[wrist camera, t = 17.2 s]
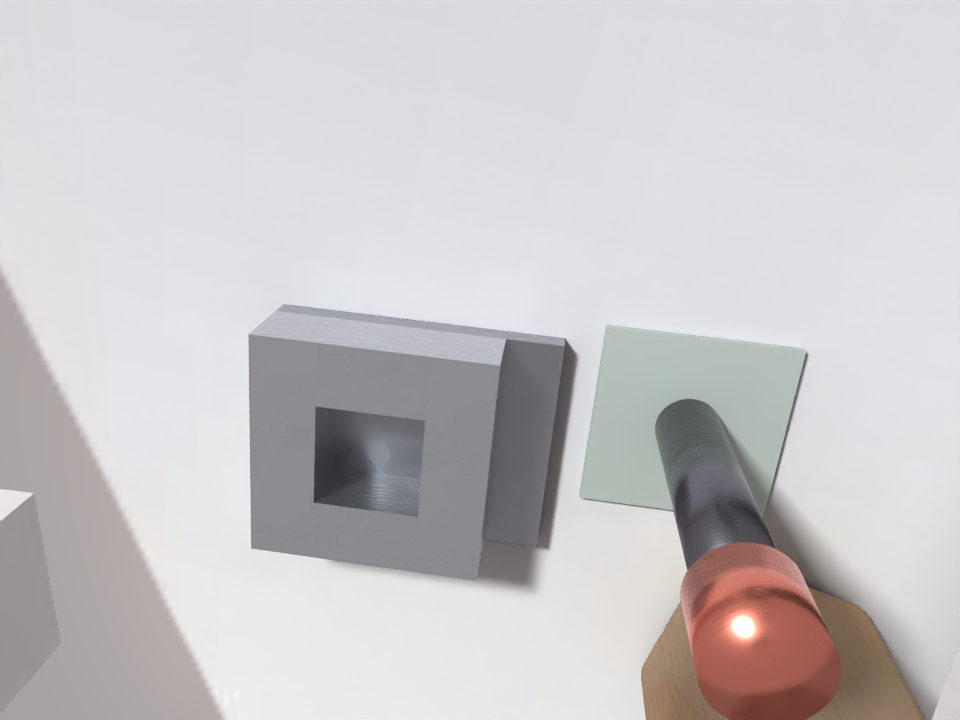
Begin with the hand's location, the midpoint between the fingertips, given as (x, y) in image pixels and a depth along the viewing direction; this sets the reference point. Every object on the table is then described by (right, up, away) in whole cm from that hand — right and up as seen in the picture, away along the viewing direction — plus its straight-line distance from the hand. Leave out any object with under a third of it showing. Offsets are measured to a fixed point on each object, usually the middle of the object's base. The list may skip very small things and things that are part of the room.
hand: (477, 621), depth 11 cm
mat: (+11, 0, +31) cm, 33 cm away
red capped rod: (+11, 0, +30) cm, 32 cm away
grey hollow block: (-4, 0, +32) cm, 33 cm away
